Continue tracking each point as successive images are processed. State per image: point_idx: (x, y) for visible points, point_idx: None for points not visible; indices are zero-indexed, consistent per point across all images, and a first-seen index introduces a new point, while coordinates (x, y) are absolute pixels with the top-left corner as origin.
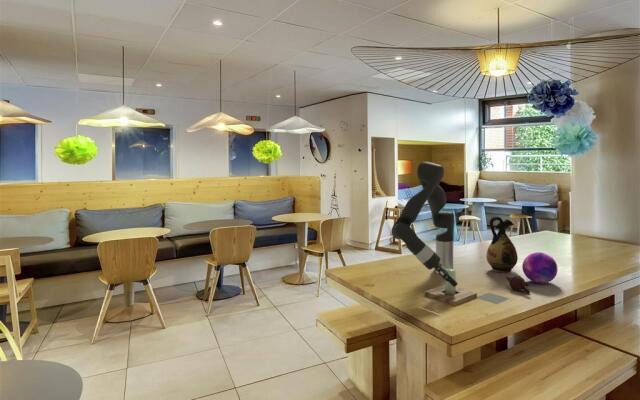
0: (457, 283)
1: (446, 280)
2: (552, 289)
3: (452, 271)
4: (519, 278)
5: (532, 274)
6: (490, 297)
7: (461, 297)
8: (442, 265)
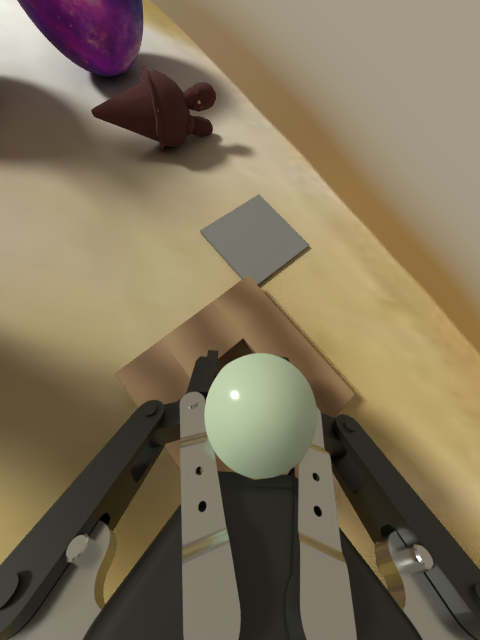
0: (287, 357)
1: (346, 456)
2: (175, 73)
3: (314, 402)
4: (168, 82)
5: (116, 32)
6: (250, 241)
7: (305, 352)
8: (233, 581)
